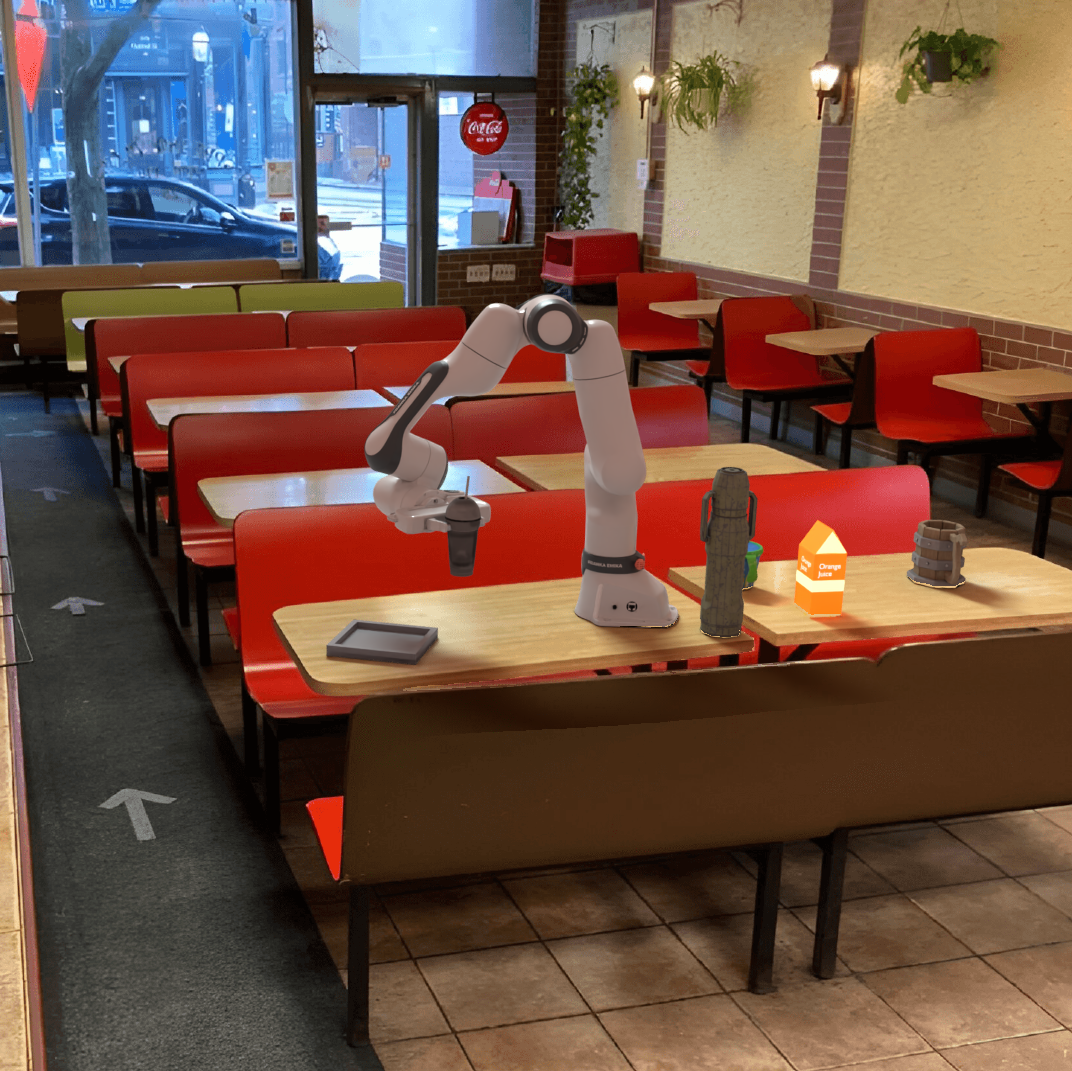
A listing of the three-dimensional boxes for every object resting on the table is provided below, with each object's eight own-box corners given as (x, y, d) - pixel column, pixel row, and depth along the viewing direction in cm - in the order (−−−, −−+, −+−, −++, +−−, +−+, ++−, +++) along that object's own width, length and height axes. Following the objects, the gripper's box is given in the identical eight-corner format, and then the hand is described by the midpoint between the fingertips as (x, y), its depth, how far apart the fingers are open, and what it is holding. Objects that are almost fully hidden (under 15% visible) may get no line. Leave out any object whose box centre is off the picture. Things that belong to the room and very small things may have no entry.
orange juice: (808, 618, 291) (816, 530, 286) (793, 605, 299) (800, 519, 294) (842, 617, 293) (850, 529, 287) (825, 604, 301) (833, 518, 296)
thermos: (756, 635, 279) (768, 472, 270) (707, 641, 275) (718, 475, 265) (733, 621, 287) (745, 463, 278) (685, 627, 282) (696, 466, 273)
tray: (437, 637, 271) (437, 627, 271) (415, 665, 256) (415, 654, 256) (353, 629, 275) (353, 619, 274) (326, 655, 259) (326, 645, 259)
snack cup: (769, 596, 305) (773, 554, 303) (725, 597, 303) (728, 555, 301) (747, 576, 320) (750, 535, 317) (705, 577, 318) (708, 536, 315)
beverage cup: (460, 565, 269) (462, 469, 264) (487, 573, 264) (490, 475, 259) (435, 573, 263) (437, 474, 258) (462, 581, 259) (465, 481, 254)
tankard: (901, 572, 327) (907, 513, 323) (951, 573, 328) (958, 514, 324) (929, 598, 308) (936, 535, 304) (982, 598, 309) (990, 536, 305)
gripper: (382, 500, 264) (421, 516, 254) (467, 489, 276) (507, 503, 266) (382, 531, 266) (420, 548, 255) (466, 518, 278) (506, 534, 267)
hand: (465, 525), depth 261 cm, fingers closed on beverage cup, 7 cm apart
